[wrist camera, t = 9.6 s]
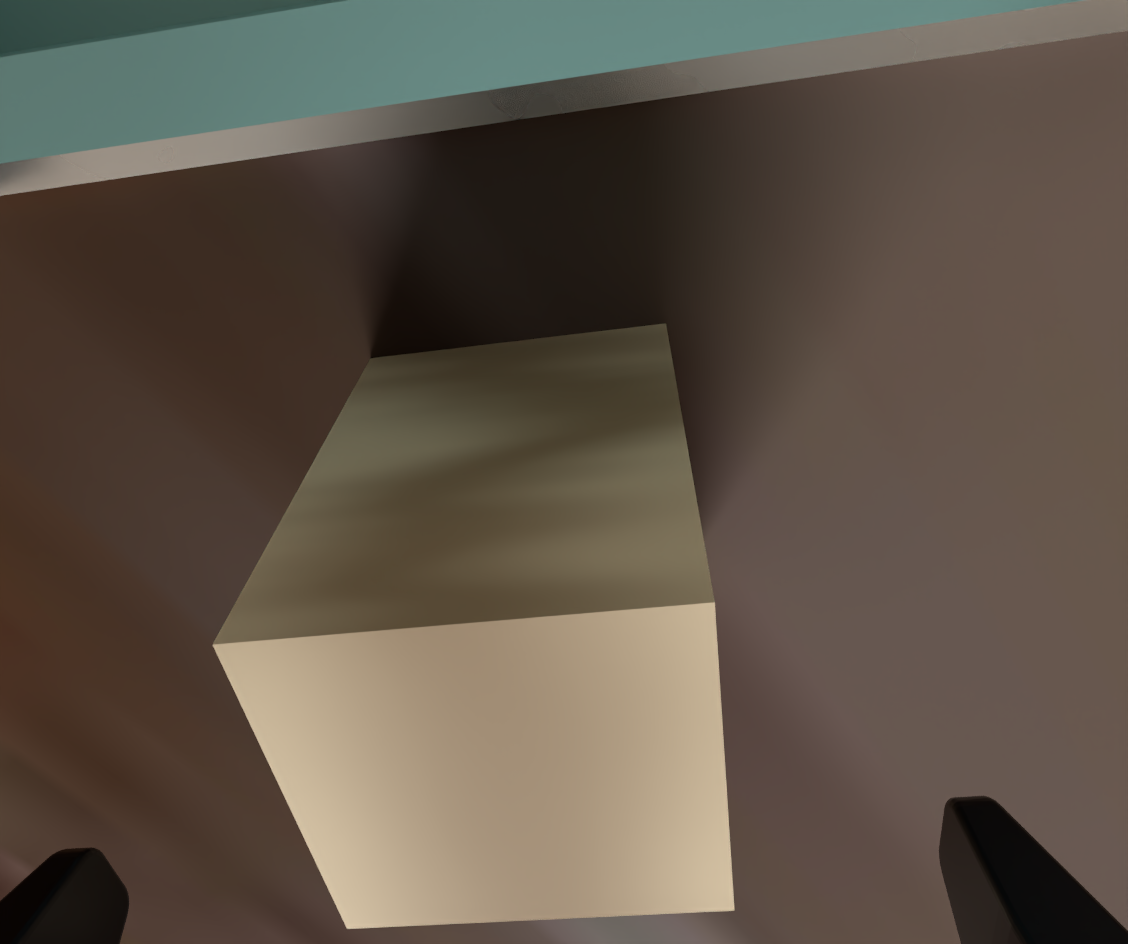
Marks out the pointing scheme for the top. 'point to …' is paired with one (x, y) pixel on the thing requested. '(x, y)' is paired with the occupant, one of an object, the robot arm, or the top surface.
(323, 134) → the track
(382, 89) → the teal storage bin
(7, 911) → the robot arm
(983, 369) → the top surface
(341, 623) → the part
